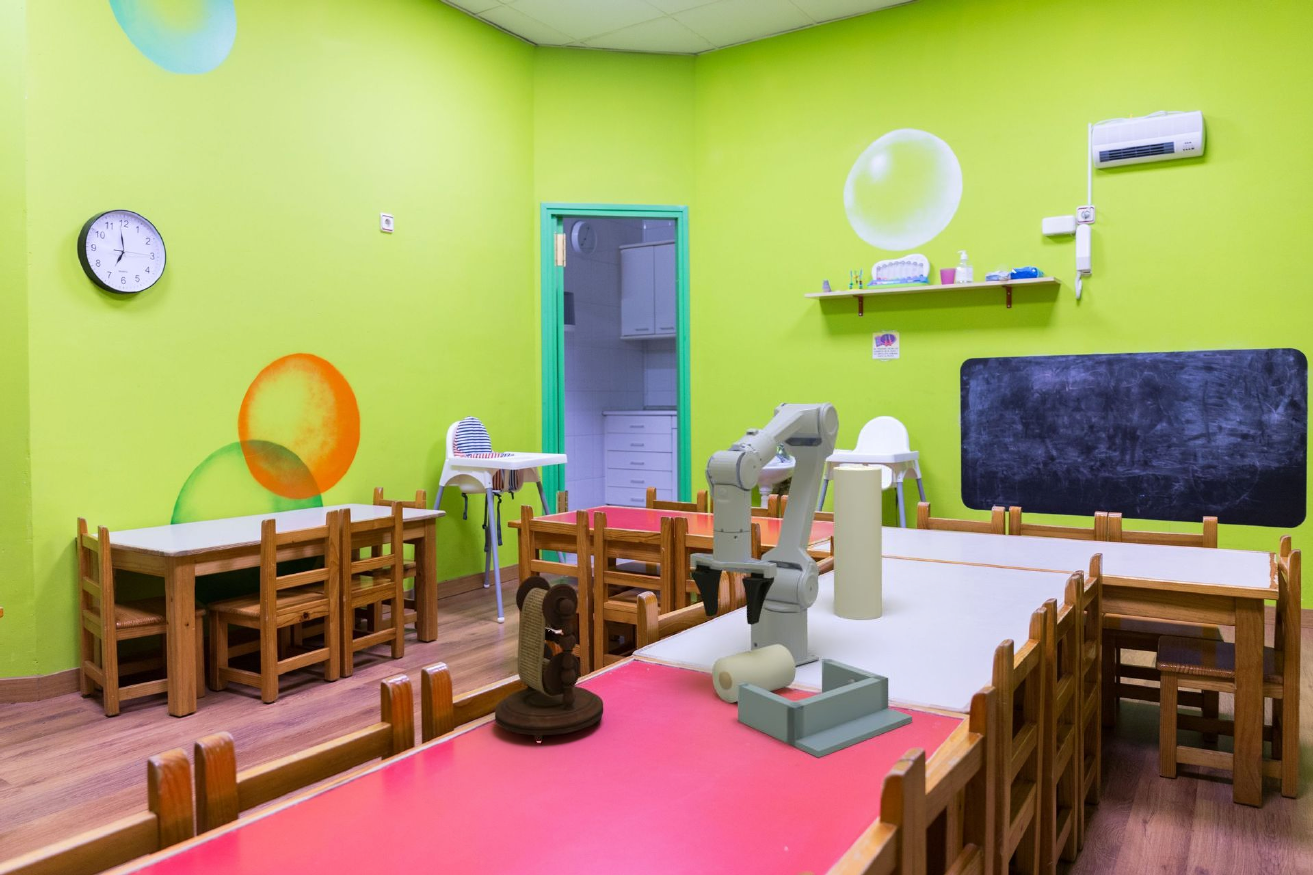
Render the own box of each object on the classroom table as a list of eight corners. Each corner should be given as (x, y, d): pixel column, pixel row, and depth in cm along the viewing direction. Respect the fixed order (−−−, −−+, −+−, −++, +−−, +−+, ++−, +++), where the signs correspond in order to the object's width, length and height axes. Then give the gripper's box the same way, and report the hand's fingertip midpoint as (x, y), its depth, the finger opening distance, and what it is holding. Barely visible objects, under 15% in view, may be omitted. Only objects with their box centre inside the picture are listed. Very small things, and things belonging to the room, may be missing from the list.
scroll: (475, 722, 117) (471, 579, 116) (564, 696, 126) (561, 564, 125) (532, 756, 105) (528, 598, 104) (625, 725, 115) (622, 580, 114)
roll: (741, 706, 120) (736, 660, 121) (712, 699, 125) (708, 656, 126) (799, 688, 127) (794, 645, 127) (770, 683, 132) (765, 642, 132)
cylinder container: (883, 620, 165) (883, 467, 163) (834, 618, 167) (833, 467, 165) (880, 608, 174) (880, 463, 173) (833, 606, 176) (833, 463, 175)
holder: (735, 719, 116) (735, 683, 116) (827, 690, 127) (826, 657, 127) (818, 757, 104) (818, 717, 103) (912, 721, 114) (912, 685, 114)
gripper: (678, 528, 129) (678, 616, 130) (758, 537, 120) (758, 632, 120) (705, 523, 135) (705, 608, 135) (784, 531, 125) (783, 622, 126)
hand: (732, 619), depth 128 cm, fingers open, 7 cm apart
